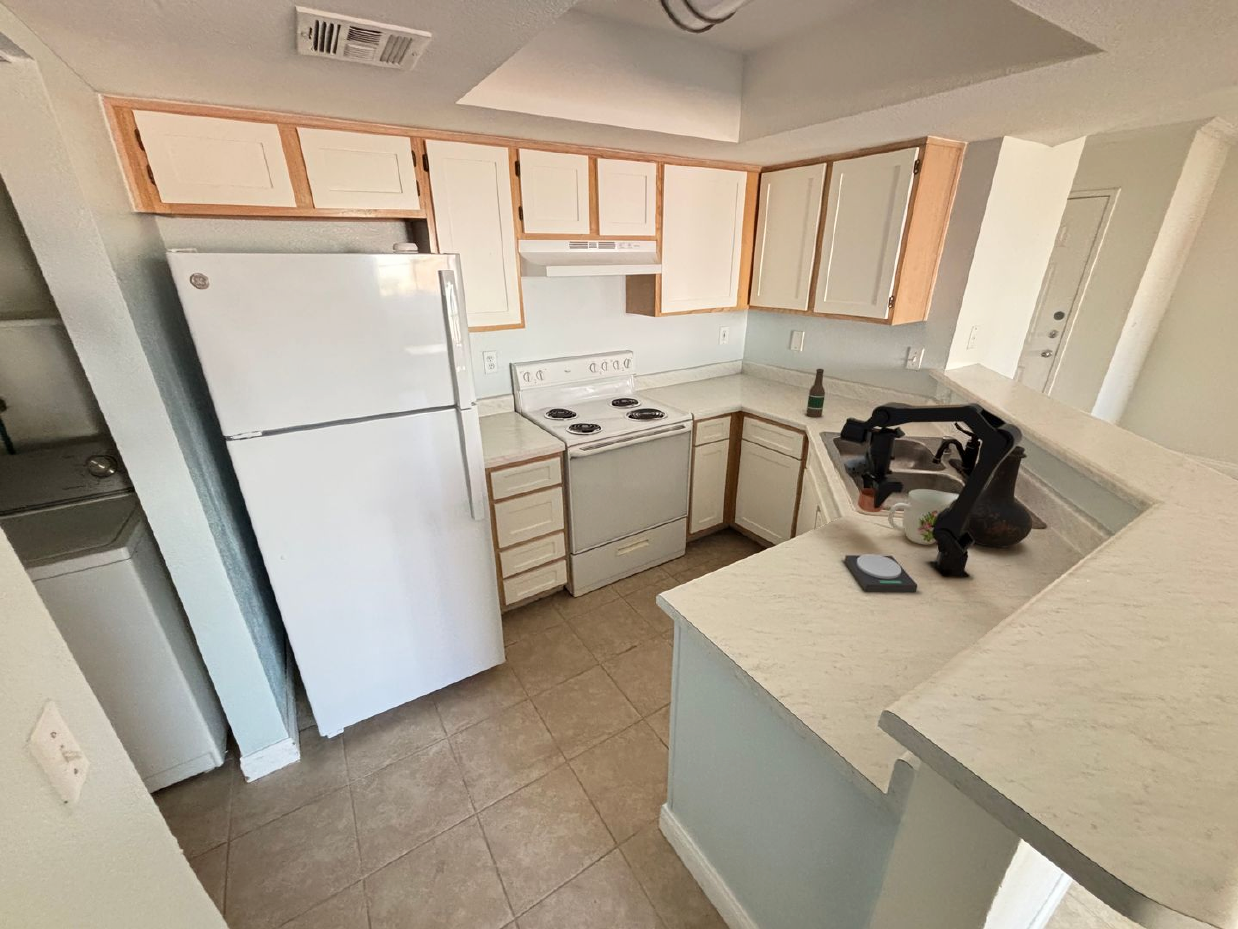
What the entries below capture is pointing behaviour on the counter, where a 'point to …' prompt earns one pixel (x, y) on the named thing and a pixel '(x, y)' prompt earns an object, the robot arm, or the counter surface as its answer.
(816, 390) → the beer bottle
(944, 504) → the pitcher
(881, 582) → the scale
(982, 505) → the dark brown vase
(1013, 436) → the robot arm
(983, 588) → the counter surface
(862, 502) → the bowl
